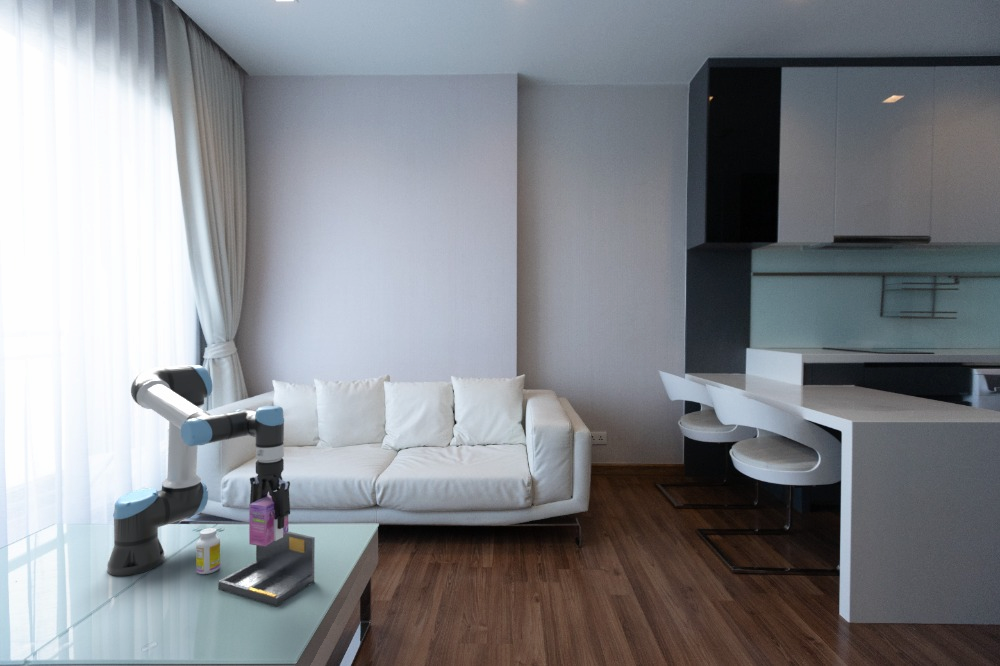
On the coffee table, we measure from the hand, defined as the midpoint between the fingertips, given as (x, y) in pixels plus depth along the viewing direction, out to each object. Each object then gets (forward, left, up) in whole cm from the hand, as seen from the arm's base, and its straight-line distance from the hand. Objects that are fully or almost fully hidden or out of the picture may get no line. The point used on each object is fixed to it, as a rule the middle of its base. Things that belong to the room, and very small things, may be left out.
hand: (269, 536), depth 150 cm
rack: (-4, +3, -17) cm, 18 cm away
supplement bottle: (-29, +3, -18) cm, 34 cm away
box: (0, 0, -1) cm, 1 cm away
